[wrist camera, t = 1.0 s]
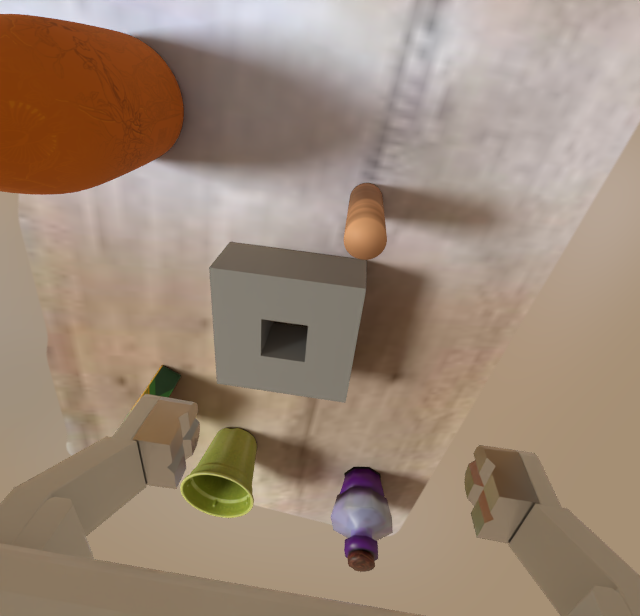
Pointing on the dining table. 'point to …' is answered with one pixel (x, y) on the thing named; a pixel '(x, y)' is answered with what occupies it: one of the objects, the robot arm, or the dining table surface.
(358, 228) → the peg
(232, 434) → the plant pot
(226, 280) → the hole block
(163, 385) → the crayon box
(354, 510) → the potion bottle
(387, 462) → the dining table surface
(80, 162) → the wine bottle
